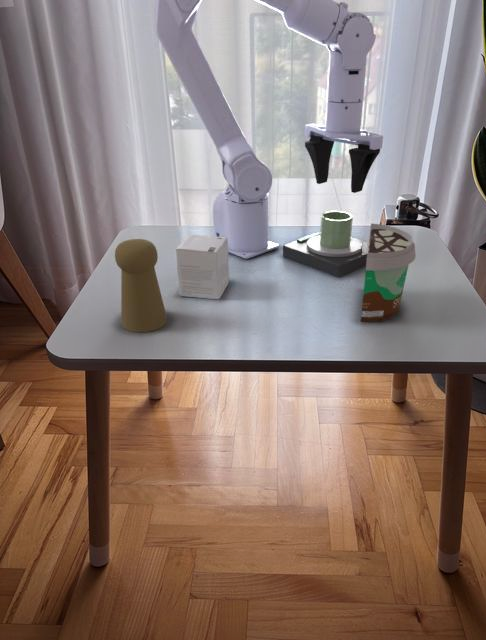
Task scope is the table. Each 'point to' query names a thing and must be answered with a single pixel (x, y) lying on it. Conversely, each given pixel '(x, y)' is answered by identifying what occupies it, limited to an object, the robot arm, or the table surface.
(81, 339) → the table surface
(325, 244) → the green cup
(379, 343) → the table surface
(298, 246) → the kitchen scale
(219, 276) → the product carton
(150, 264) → the olive yellow pawn
